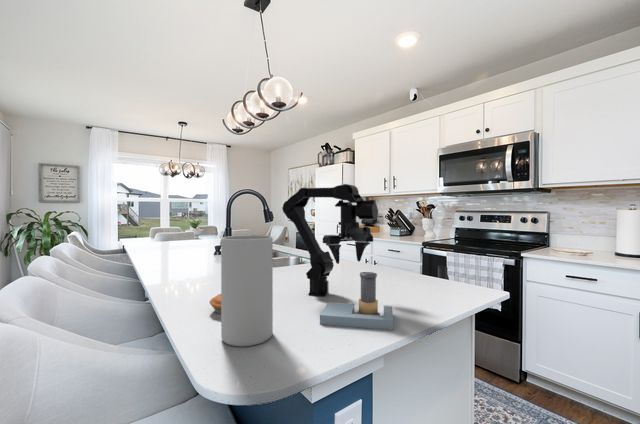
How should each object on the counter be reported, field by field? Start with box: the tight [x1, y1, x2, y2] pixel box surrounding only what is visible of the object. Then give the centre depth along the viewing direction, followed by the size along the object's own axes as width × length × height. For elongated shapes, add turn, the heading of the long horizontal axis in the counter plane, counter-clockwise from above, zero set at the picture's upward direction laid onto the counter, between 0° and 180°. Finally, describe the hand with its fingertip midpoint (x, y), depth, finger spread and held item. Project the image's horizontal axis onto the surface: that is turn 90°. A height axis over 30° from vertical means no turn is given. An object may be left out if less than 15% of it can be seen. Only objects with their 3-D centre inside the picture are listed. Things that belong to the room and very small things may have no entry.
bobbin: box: [356, 271, 381, 316], centre depth 89 cm, size 7×7×13 cm
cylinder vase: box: [220, 234, 274, 347], centre depth 75 cm, size 12×12×25 cm
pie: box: [209, 293, 221, 316], centre depth 95 cm, size 16×16×5 cm
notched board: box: [319, 301, 394, 331], centre depth 87 cm, size 20×12×2 cm, turn 78°
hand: (348, 262), depth 108 cm, fingers open, 9 cm apart
